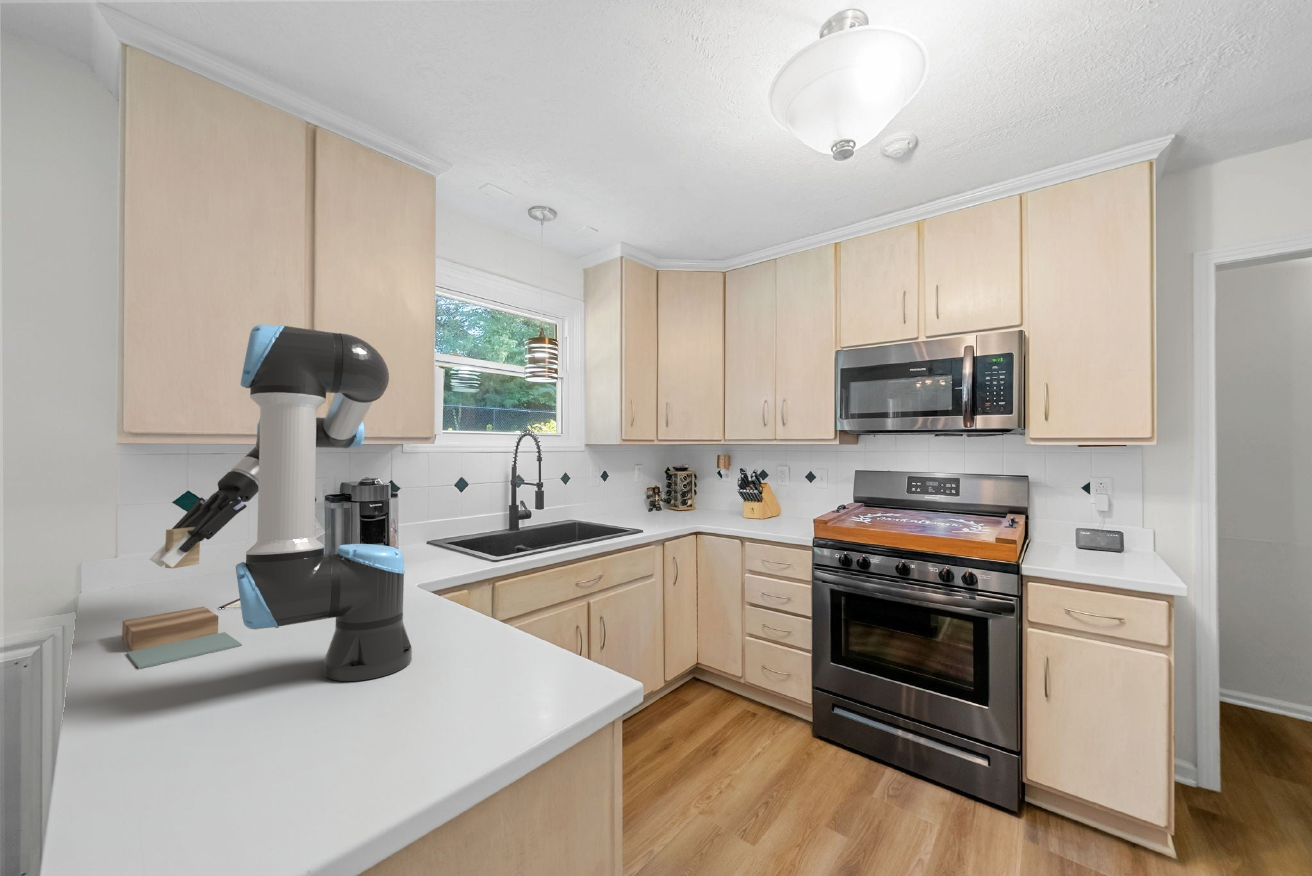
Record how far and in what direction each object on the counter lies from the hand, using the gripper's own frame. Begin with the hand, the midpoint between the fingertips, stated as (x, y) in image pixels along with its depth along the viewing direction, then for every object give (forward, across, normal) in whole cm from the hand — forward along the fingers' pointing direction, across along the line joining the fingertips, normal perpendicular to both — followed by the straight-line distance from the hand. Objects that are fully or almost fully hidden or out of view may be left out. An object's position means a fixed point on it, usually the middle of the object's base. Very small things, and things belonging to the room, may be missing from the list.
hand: (161, 563), depth 113 cm
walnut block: (+8, +7, -17) cm, 20 cm away
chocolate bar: (-12, +19, -37) cm, 44 cm away
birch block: (-2, 0, -4) cm, 4 cm away
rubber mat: (+11, -5, -14) cm, 19 cm away
